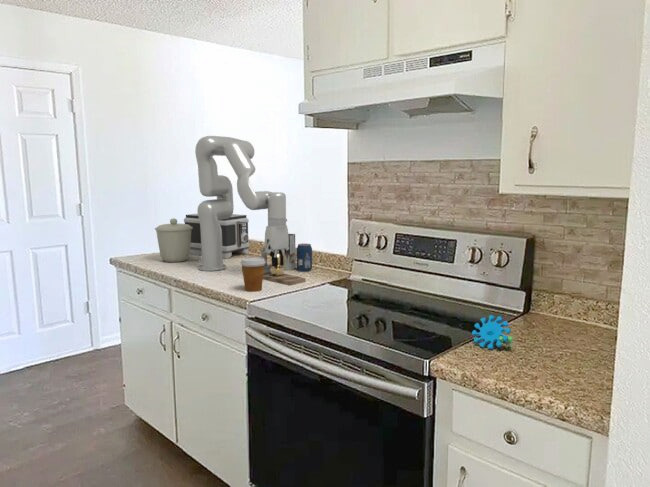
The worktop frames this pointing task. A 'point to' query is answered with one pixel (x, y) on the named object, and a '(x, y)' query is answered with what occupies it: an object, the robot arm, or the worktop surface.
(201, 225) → the robot arm
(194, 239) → the microwave oven
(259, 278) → the disposable coffee cup
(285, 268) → the coffee box
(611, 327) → the worktop surface
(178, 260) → the canister
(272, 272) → the sliding leg
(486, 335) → the gear
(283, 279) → the gauge board
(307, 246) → the soda can
